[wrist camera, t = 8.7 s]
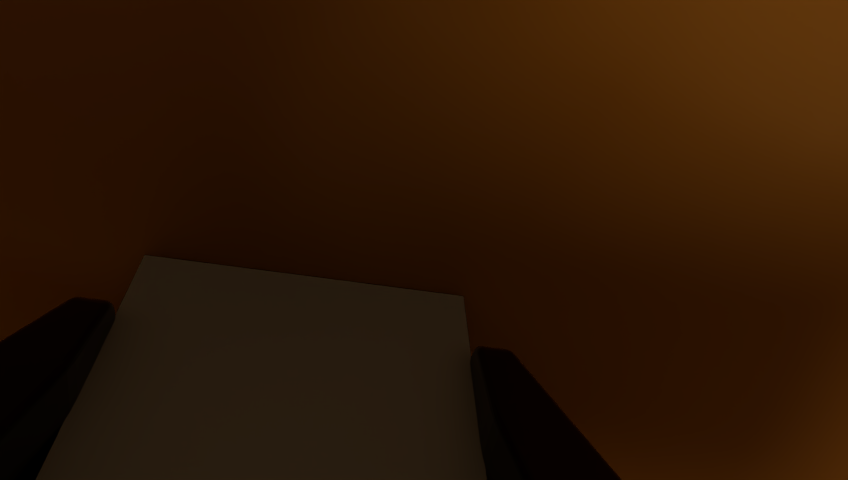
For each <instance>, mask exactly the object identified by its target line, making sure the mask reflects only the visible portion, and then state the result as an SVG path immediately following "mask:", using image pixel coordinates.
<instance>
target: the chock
mask: <svg viewBox="0 0 848 480" xmlns="http://www.w3.org/2000/svg"><path fill="white" fill-rule="evenodd" d="M470 360H471V352H470V344H469V336H468V328H467V320H466V313H465V305H464V297H463V296H458V295H450V294H443V293H435V292H427V291H419V290H412V289H404V288H396V287H388V286H381V285H373V284H365V283H358V282H350V281H342V280H334V279H327V278H319V277H311V276H303V275H296V274H288V273H280V272H272V271H265V270H257V269H249V268H242V267H234V266H226V265H218V264H211V263H203V262H195V261H187V260H180V259H172V258H164V257H156V256H149V255H144V257H143V259H142V261H141V263H140V265H139V267H138V269H137V271H136V274H135V276H134V278H133V280H132V282H131V284H130V286H129V288H128V290H127V292H126V294H125V296H124V298H123V300H122V302H121V305H120V307H119V309H118V311H117V313H116V315H115V321H114V323H113V325H112V327H111V329H110V331H109V333H108V335H107V337H106V340H105V342H104V344H103V346H102V348H101V350H100V352H99V354H98V356H97V358H96V360H95V362H94V365H93V367H92V369H91V371H90V373H89V375H88V377H87V379H86V381H85V383H84V385H83V387H82V389H81V392H80V394H79V396H78V398H77V400H76V401H75V403H74V405H73V407H72V409H71V411H70V413H69V414H68V416H67V417H66V419H65V420H64V422H63V424H62V426H61V428H60V430H59V433H58V435H57V437H56V439H55V441H54V443H53V445H52V447H51V449H50V451H49V453H48V455H47V457H46V459H45V461H44V464H43V466H42V468H41V470H40V472H39V474H38V476H37V478H36V480H487V476H486V468H485V464H484V460H483V456H482V450H481V444H480V437H479V429H478V421H477V413H476V406H475V398H474V390H473V382H472V374H471V366H470Z"/></svg>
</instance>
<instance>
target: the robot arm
mask: <svg viewBox="0 0 848 480" xmlns="http://www.w3.org/2000/svg"><path fill="white" fill-rule="evenodd" d="M114 321H115V310H114V307H113V305H112V303H110V302H109V301H106V300H98V299H90V298H82V297H75V298H72V299H70V300H68V301H66V302H64V303H63V304H61V305H60V306H58V307H56V308H55V309H53V310H51V311H50V312H48V313H46V314H45V315H43V316H42V317H40V318H38V319H37V320H35V321H33V322H32V323H30V324H28V325H27V326H25V327H24V328H22V329H20V330H19V331H17V332H15V333H14V334H12V335H10V336H9V337H7V338H6V339H4V340H2V341H1V342H0V480H36V478H37V476H38V474H39V472H40V470H41V468H42V466H43V464H44V461H45V459H46V457H47V455H48V453H49V451H50V449H51V447H52V445H53V443H54V441H55V439H56V437H57V435H58V433H59V430H60V428H61V426H62V424H63V422H64V420H65V419H66V417H67V416H68V414H69V413H70V411H71V409H72V407H73V405H74V403H75V401H76V400H77V398H78V396H79V394H80V392H81V389H82V387H83V385H84V383H85V381H86V379H87V377H88V375H89V373H90V371H91V369H92V367H93V365H94V362H95V360H96V358H97V356H98V354H99V352H100V350H101V348H102V346H103V344H104V342H105V340H106V337H107V335H108V333H109V331H110V329H111V327H112V325H113V323H114ZM470 366H471V374H472V382H473V390H474V398H475V406H476V413H477V421H478V429H479V437H480V444H481V450H482V456H483V460H484V464H485V468H486V476H487V480H621V479H620V478H619V476H618V475H617V474H616V473H615V472H614V471H613V469H612V468H611V467H610V466H609V465H608V463H607V462H606V461H605V460H604V459H603V458H602V456H601V455H600V454H599V453H598V452H597V451H596V449H595V448H594V447H593V446H592V445H591V444H590V442H589V441H588V440H587V439H586V438H585V437H584V435H583V434H582V433H581V432H580V431H579V430H578V428H577V427H576V426H575V425H574V424H573V423H572V421H571V420H570V419H569V418H568V417H567V416H566V414H565V413H564V412H563V411H562V410H561V409H560V407H559V406H558V405H557V404H556V403H555V401H554V400H553V399H552V398H551V397H550V396H549V394H548V393H547V392H546V391H545V390H544V389H543V387H542V386H541V385H540V384H539V383H538V382H537V380H536V379H535V378H534V377H533V376H532V375H531V373H530V372H529V371H528V370H527V369H526V368H525V366H524V365H523V364H522V363H521V362H520V361H519V359H518V358H517V357H516V356H515V355H514V354H513V353H512V352H511V351H509V350H507V349H500V348H492V347H484V346H479V347H477V348H476V349H475V350H474V352H473V354H472V357H471V360H470Z"/></svg>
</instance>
